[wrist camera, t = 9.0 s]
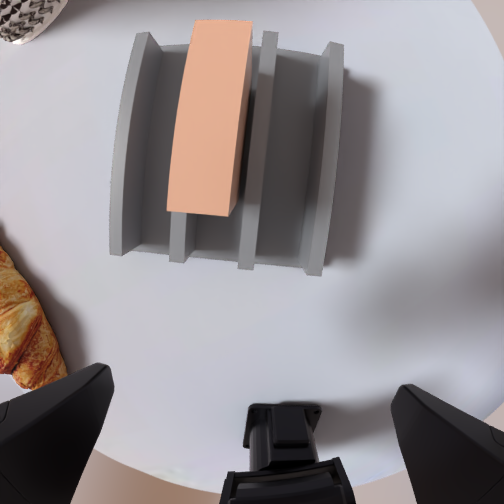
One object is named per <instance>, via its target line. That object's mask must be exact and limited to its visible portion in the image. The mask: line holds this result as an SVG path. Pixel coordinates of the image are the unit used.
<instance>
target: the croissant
mask: <svg viewBox="0 0 504 504" xmlns="http://www.w3.org/2000/svg"><path fill="white" fill-rule="evenodd" d="M4 373H5V374H11V375H12V376H13V378H14V379H15V381H16V383H17V384H18V385H19V386H20V387H22V388H24V389H28V388H29V389H31V390H35V389H38V388H40V387H42V386H45V385H47V384H49V383H52V382H54V381H56V380H59V379H61V378H63V377H65V376H67V368H66V366H65V364H64V360H63V358H62V357H61V354H60V351H59V345H58V341H57V339H56V336H55V334H54V332H53V330H52V328H51V326H50V324H49V323H48V321H47V319H46V317H45V314H44V312H43V310H42V308H41V305H40V303H39V301H38V299H37V297H36V295H35V294H34V292H33V290H32V289H31V287H30V286H29V284H28V283H27V282H26V280H25V279H24V278H23V277H22V275H21V274H19V273H18V270H17V271H16V270H15V268H14V263H13V262H12V260H11V259H10V257H9V255H8V254H7V253H6V252H5V251H4V250H3V249H2V247H1V246H0V374H4Z"/></svg>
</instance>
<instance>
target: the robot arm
mask: <svg viewBox="0 0 504 504" xmlns="http://www.w3.org/2000/svg"><path fill="white" fill-rule="evenodd" d="M113 393H114V382H113V377H112V373H111V368H110V367H109V366H108V365H106V364H102V363H95V364H92V365H90V366H88V367H86V368H83V369H81V370H79V371H77V372H74V373H72V374H70V375H68V376H65V377H63V378H61V379H59V380H56V381H54V382H52V383H49V384H47V385H45V386H42V387H40V388H38V389H35V390H33V391H30V392H28V393H26V394H23V395H21V396H18V397H16V398H13V399H11V400H10V401H6V402H3V403H1V404H0V504H70V503H71V500H72V498H73V495H74V493H75V490H76V487H77V485H78V483H79V480H80V478H81V475H82V473H83V471H84V468H85V466H86V464H87V461H88V459H89V457H90V455H91V452H92V450H93V448H94V445H95V443H96V441H97V439H98V437H99V434H100V432H101V429H102V427H103V424H104V420H105V417H106V414H107V411H108V408H109V405H110V402H111V399H112V396H113ZM316 410H317V411H316ZM321 412H322V410H321V407H320V406H276V405H250V406H249V407H248V413H247V419H246V426H245V432H244V439H243V447H244V448H247V449H250V471H249V472H235V471H230V472H228V474H227V478H226V479H225V481H224V485H223V490H222V494H221V499H220V503H219V504H356V501H355V497H354V493H353V490H352V487H351V484H350V482H349V480H348V477H347V475H346V472H345V470H344V467H343V465H342V463H341V460H340V458H339V457H336V458H332V459H331V460H327V461H322V462H319V458H318V454H317V449H316V445H315V440H314V436H313V433H314V430H315V428H316V425H317V423H318V420H319V417H320V415H321ZM391 413H392V417H393V421H394V425H395V429H396V434H397V438H398V443H399V446H400V450H401V453H402V456H403V459H404V462H405V465H406V468H407V471H408V474H409V478H410V481H411V484H412V488H413V491H414V494H415V498H416V502H417V504H504V432H503V431H501V430H498V429H496V428H494V427H492V426H489V425H488V424H486V423H484V422H482V421H480V420H479V419H477V418H475V417H473V416H471V415H469V414H467V413H465V412H463V411H461V410H459V409H457V408H456V407H454V406H452V405H450V404H448V403H446V402H444V401H442V400H441V399H439V398H437V397H435V396H433V395H431V394H430V393H428V392H426V391H424V390H422V389H420V388H419V387H417V386H415V385H413V384H405V385H401V386H400V387H399V389H398V391H397V393H396V395H395V397H394V399H393V401H392V403H391Z"/></svg>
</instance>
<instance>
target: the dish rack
mask: <svg viewBox="0 0 504 504" xmlns="http://www.w3.org/2000/svg"><path fill="white" fill-rule="evenodd" d="M278 33H279V32H271V31H263V39H262V47H259V46H252V90H251V97H250V106H249V114H248V122H247V130H246V139H245V147H244V156H243V165H242V174H241V183H240V192H239V201H238V202H237V204H236V205H235V207H234V208H233V210H232V211H231V213H230V214H229V216H228V217H227V216H217V215H207V214H196V213H184V212H172V211H167V198H168V185H169V174H170V164H171V155H172V146H173V138H174V130H175V123H176V116H177V109H178V103H179V97H180V91H181V85H182V80H183V74H184V69H185V64H186V59H187V54H188V50H189V45H190V44H184V45H167V46H159V45H158V43H157V42H156V41H155V39H154V38H153V37H152V35H151V34H150V32H144V33H137V34H136V37H135V41H134V44H133V48H132V52H131V56H130V60H129V64H128V68H127V72H126V77H125V81H124V86H123V91H122V96H121V102H120V108H119V114H118V120H117V127H116V135H115V143H114V151H113V162H112V174H111V189H110V215H109V248H110V255H117V256H123V255H125V254H126V253H128V252H129V251H139V252H148V253H157V254H167V255H169V262H177V263H185V261H186V260H187V259H188V258H189V257H195V258H205V259H215V260H224V261H235V262H238V269H245V270H253V268H254V263H255V264H265V265H276V266H286V267H297V268H303V270H304V271H305V273H306V275H310V276H321V275H322V270H323V264H324V258H325V252H326V246H327V240H328V233H329V226H330V219H331V212H332V205H333V197H334V189H335V180H336V171H337V161H338V151H339V140H340V127H341V112H342V93H343V63H344V45H343V44H339V43H334V42H329V44H328V45H327V47H326V49H325V50H324V52H323V54H322V55H321V56H320V55H315V54H309V53H304V52H298V51H292V50H285V49H277V42H278Z"/></svg>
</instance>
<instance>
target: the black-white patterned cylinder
mask: <svg viewBox="0 0 504 504" xmlns="http://www.w3.org/2000/svg"><path fill="white" fill-rule="evenodd" d="M67 2H68V0H0V38H3V39H4V40H5V41H9V42H13V44H18V45H23V44H25V43H27V42H29V41H31V40H33V39H34V38H35V37H37V36H38V35H39V34H40V33H42V32H43V31H44V30H45V29H46V28H47V27H48V26H49V25H50V24H51V23H52V22H53V21H54V20H55V19H56V18H57V16H58V15H59V14H60V12H61V11H62V10H63V8H64V7H65V6H66V4H67Z"/></svg>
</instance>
